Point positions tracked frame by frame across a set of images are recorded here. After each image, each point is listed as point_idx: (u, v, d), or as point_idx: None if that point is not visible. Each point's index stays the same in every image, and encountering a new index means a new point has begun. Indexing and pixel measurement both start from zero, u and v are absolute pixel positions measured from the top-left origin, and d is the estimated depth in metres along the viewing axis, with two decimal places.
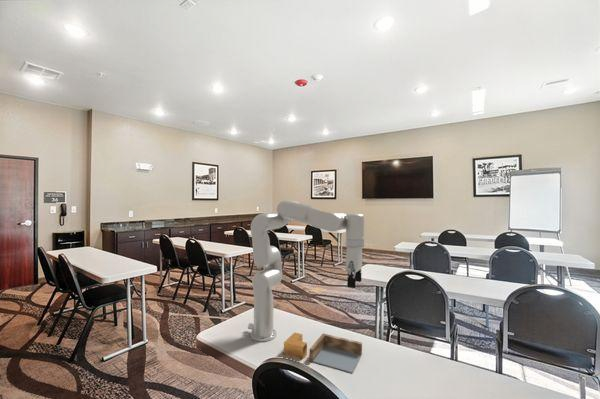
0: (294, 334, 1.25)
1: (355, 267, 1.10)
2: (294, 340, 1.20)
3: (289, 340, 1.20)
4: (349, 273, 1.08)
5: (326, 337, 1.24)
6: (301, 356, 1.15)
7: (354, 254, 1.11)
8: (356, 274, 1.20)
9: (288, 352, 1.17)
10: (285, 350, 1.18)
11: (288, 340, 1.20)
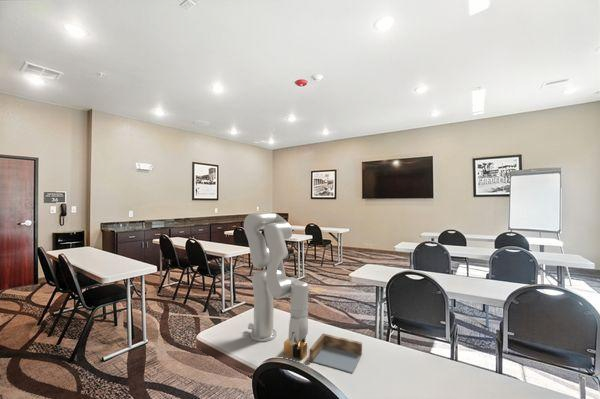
0: None
1: None
2: None
3: None
4: None
5: (326, 337, 1.24)
6: (301, 356, 1.15)
7: (296, 325, 1.13)
8: None
9: (288, 352, 1.17)
10: (285, 350, 1.18)
11: (288, 340, 1.20)
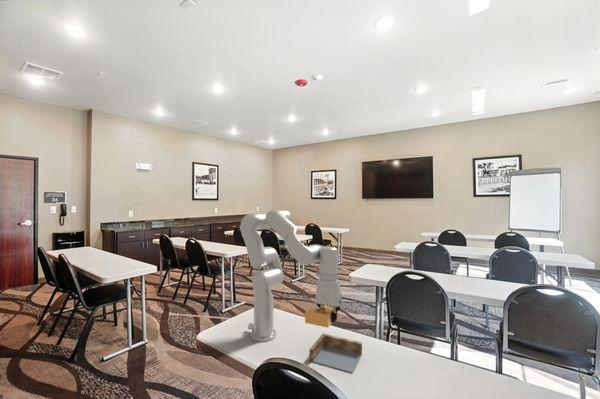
0: (309, 310, 1.14)
1: None
2: (322, 310, 1.14)
3: (323, 312, 1.12)
4: (340, 307, 1.13)
5: (326, 337, 1.24)
6: None
7: None
8: None
9: (329, 322, 1.11)
10: (328, 322, 1.10)
11: (323, 313, 1.11)
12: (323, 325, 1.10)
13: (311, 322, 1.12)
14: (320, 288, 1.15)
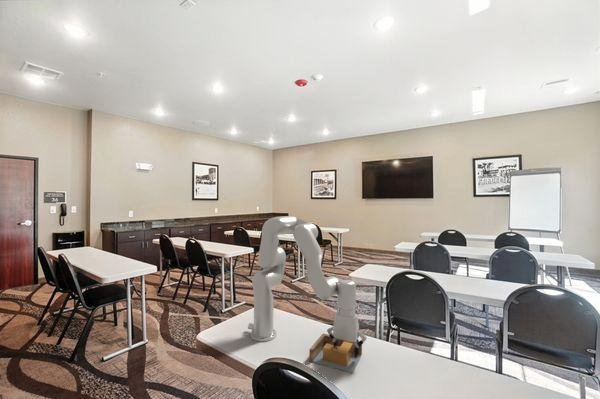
0: (327, 347, 1.13)
1: None
2: (340, 347, 1.13)
3: (341, 350, 1.11)
4: (363, 342, 1.12)
5: (326, 337, 1.24)
6: (352, 353, 1.16)
7: None
8: (336, 344, 1.16)
9: (348, 361, 1.11)
10: (347, 360, 1.10)
11: (342, 351, 1.11)
12: (341, 364, 1.10)
13: (329, 360, 1.12)
14: (337, 322, 1.14)
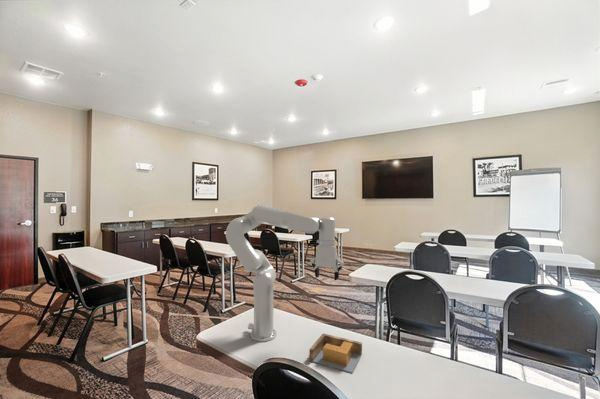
0: (327, 347, 1.13)
1: None
2: (340, 347, 1.13)
3: (341, 350, 1.11)
4: None
5: (326, 337, 1.24)
6: (352, 353, 1.16)
7: (336, 251, 1.33)
8: (317, 271, 1.35)
9: (348, 361, 1.11)
10: (347, 360, 1.10)
11: (342, 351, 1.11)
12: (341, 364, 1.10)
13: (329, 360, 1.12)
14: (319, 252, 1.32)
